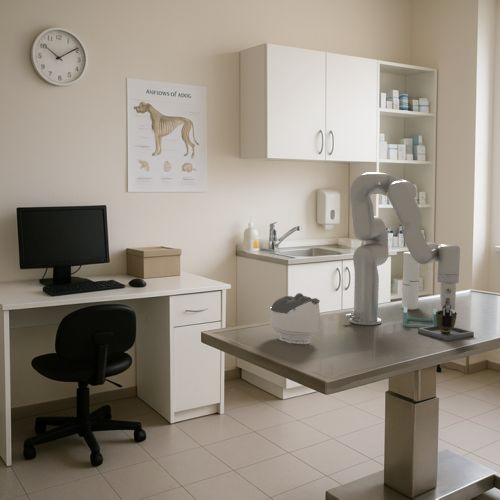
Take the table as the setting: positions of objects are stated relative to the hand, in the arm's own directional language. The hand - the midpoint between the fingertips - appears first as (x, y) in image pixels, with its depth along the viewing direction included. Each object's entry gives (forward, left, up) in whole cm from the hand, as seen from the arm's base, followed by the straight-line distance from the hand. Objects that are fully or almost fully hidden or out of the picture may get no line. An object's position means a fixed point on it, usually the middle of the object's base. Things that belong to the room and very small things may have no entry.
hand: (446, 323), depth 227 cm
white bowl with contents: (-54, +20, -4) cm, 58 cm away
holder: (+4, +17, -4) cm, 18 cm away
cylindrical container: (+23, +42, -4) cm, 48 cm away
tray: (0, 0, -4) cm, 4 cm away
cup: (0, 0, -4) cm, 4 cm away
